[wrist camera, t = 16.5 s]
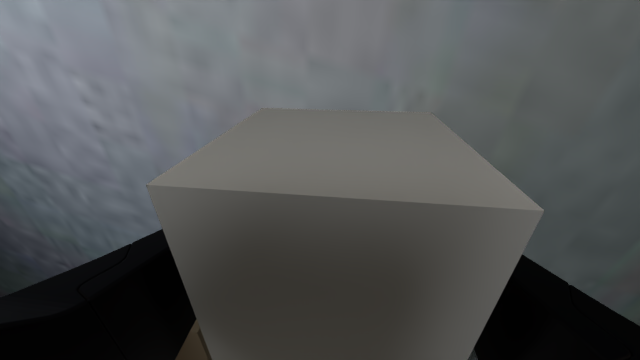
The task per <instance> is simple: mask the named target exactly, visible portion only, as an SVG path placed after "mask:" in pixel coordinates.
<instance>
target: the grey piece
mask: <svg viewBox="0 0 640 360" xmlns="http://www.w3.org/2000/svg"><path fill="white" fill-rule="evenodd" d="M146 186H147V189H148V192H149V194H150V197H151V200H152V202H153V205H154V208H155V210H156V213H157V216H158V218H159V221H160V223H161V226H162V229H163V231H164V234H165V237H166V239H167V242H168V245H169V247H170V250H171V252H172V255H173V258H174V260H175V263H176V266H177V268H178V271H179V274H180V276H181V279H182V282H183V284H184V287H185V289H186V292H187V295H188V297H189V300H190V303H191V305H192V308H193V311H194V313H195V316H196V318H197V321H198V324H199V326H200V329H201V332H202V334H203V337H204V340H205V342H206V345H207V348H208V350H209V353H210V355H211V358H212V360H468V358H469V356H470V354H471V352H472V350H473V348H474V346H475V344H476V342H477V340H478V339H479V337H480V335H481V333H482V331H483V329H484V327H485V325H486V323H487V321H488V319H489V317H490V315H491V313H492V311H493V309H494V307H495V306H496V304H497V302H498V300H499V298H500V296H501V294H502V292H503V290H504V288H505V286H506V284H507V282H508V280H509V278H510V276H511V275H512V273H513V271H514V269H515V267H516V265H517V263H518V261H519V259H520V257H521V255H522V253H523V251H524V249H525V247H526V245H527V243H528V242H529V240H530V238H531V236H532V234H533V232H534V230H535V228H536V226H537V224H538V222H539V220H540V218H541V216H542V214H543V212H544V210H543V209H542V208H541V207H539V206H538V205H537V204H536V203H535V202H534V201H533V200H531V199H530V198H529V197H528V196H527V195H526V194H524V193H523V192H522V191H521V190H520V189H519V188H518V187H516V186H515V185H514V184H513V183H512V182H511V181H509V180H508V179H507V178H506V177H505V176H504V175H503V174H501V173H500V172H499V171H498V170H497V169H496V168H494V167H493V166H492V165H491V164H490V163H489V162H488V161H486V160H485V159H484V158H483V157H482V156H481V155H479V154H478V153H477V152H476V151H475V150H474V149H473V148H471V147H470V146H469V145H468V144H467V143H466V142H464V141H463V140H462V139H461V138H460V137H459V136H458V135H456V134H455V133H454V132H453V131H452V130H451V129H449V128H448V127H447V126H446V125H445V124H444V123H443V122H441V121H440V120H439V119H438V118H437V117H436V116H434V115H433V114H432V113H430V112H393V111H356V110H319V109H282V108H261V109H260V110H258V111H257V112H255V113H254V114H252V115H251V116H249V117H248V118H246V119H245V120H243V121H242V122H240V123H239V124H237V125H236V126H234V127H233V128H231V129H230V130H228V131H227V132H225V133H224V134H222V135H221V136H219V137H217V138H216V139H214V140H213V141H211V142H210V143H208V144H207V145H205V146H204V147H202V148H201V149H199V150H198V151H196V152H195V153H193V154H192V155H190V156H189V157H187V158H186V159H184V160H183V161H181V162H180V163H178V164H177V165H175V166H174V167H172V168H171V169H169V170H168V171H166V172H164V173H163V174H161V175H160V176H158V177H157V178H155V179H154V180H152V181H151V182H149V183H148V184H146Z"/></svg>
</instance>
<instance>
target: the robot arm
mask: <svg viewBox="0 0 640 360" xmlns="http://www.w3.org/2000/svg"><path fill="white" fill-rule="evenodd" d="M196 319H197V318H196V316H195V313H194V311H193V308H192V305H191V303H190V300H189V297H188V295H187V292H186V289H185V287H184V284H183V282H182V279H181V276H180V274H179V271H178V268H177V266H176V263H175V260H174V258H173V255H172V252H171V250H170V247H169V245H168V242H167V239H166V237H165V234H164V231H163V229H161V230H159V231H157V232H155V233H153V234H150V235H148V236H146V237H144V238H142V239H140V240H137V241H135V242H133V243H132V244H128V245H126V246H124V247H122V248H120V249H118V250H115V251H113V252H111V253H109V254H106V255H104V256H102V257H99V258H97V259H95V260H92V261H90V262H88V263H85V264H83V265H80V266H78V267H75V268H73V269H71V270H68V271H66V272H63V273H61V274H58V275H56V276H53V277H51V278H48V279H46V280H43V281H41V282H38V283H36V284H33V285H31V286H28V287H26V288H24V289H21V290H19V291H16V292H13V293H11V294H8V295H5V296H2V297H0V360H175V359H176V357H177V355H178V353H179V351H180V350H181V348H182V346H183V344H184V342H185V340H186V338H187V336H188V334H189V332H190V330H191V328H192V326H193V325H194V323H195V321H196ZM474 349H475V352H476V355H477V358H478V360H640V326H639V325H637V324H635V323H634V322H632V321H630V320H628V319H627V318H625V317H623V316H621V315H620V314H618V313H616V312H615V311H613V310H611V309H610V308H608V307H606V306H605V305H603V304H601V303H600V302H598V301H596V300H595V299H593V298H591V297H590V296H588V295H586V294H585V293H583V292H582V291H580V290H579V289H577V288H575V287H574V286H572V285H569V284H568V283H567V282H566V281H564V280H562V279H561V278H559V277H558V276H556V275H554V274H553V273H551V272H550V271H548V270H546V269H545V268H543V267H542V266H540V265H538V264H537V263H535V262H533V261H532V260H530V259H529V258H527V257H525V256H524V255H521V257H520V259H519V261H518V263H517V265H516V267H515V269H514V271H513V273H512V275H511V276H510V278H509V280H508V282H507V284H506V286H505V288H504V290H503V292H502V294H501V296H500V298H499V300H498V302H497V304H496V306H495V307H494V309H493V311H492V313H491V315H490V317H489V319H488V321H487V323H486V325H485V327H484V329H483V331H482V333H481V335H480V337H479V339H478V340H477V342H476V344H475V346H474Z"/></svg>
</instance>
